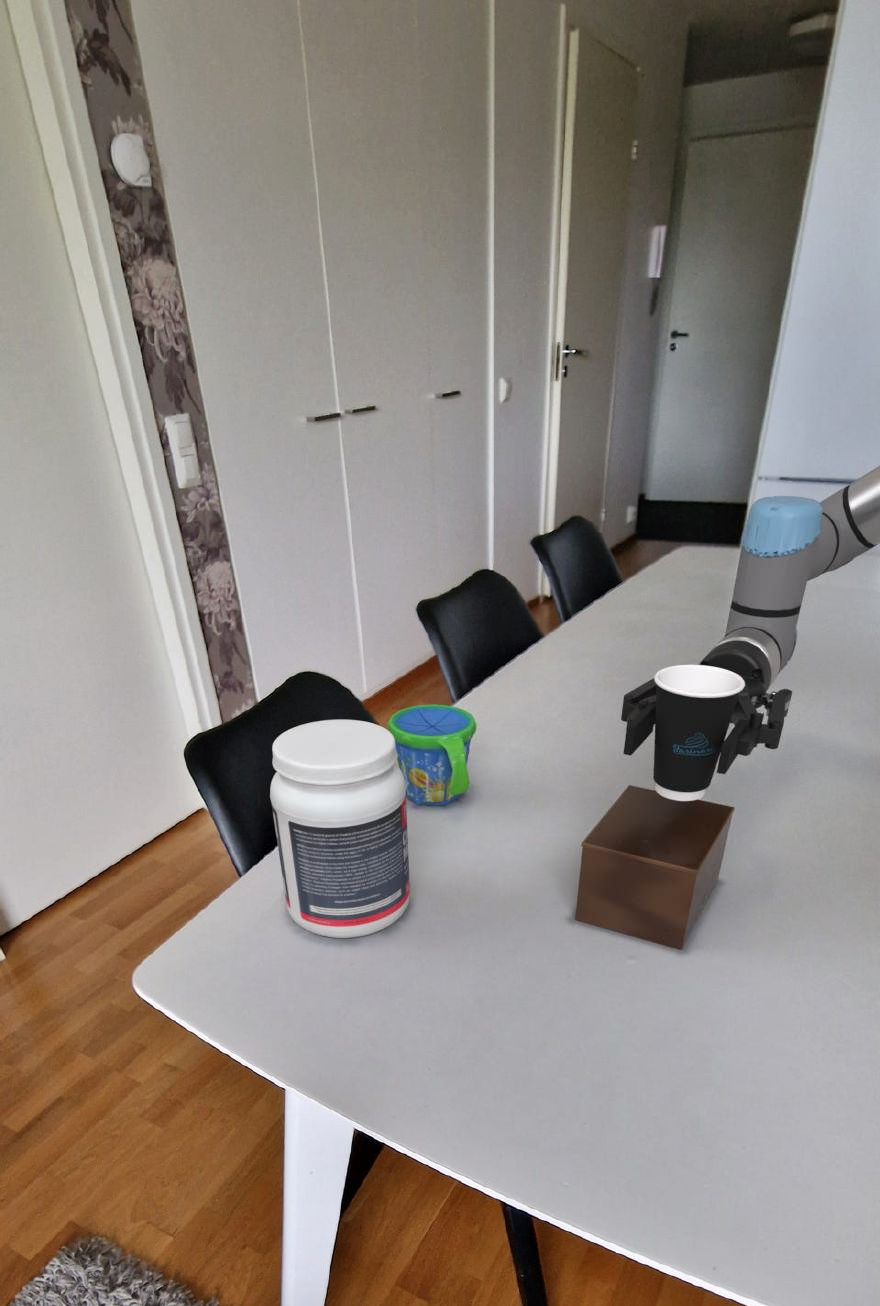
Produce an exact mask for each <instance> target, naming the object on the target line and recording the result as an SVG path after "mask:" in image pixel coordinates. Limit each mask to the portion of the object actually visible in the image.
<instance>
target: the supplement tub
mask: <svg viewBox="0 0 880 1306" xmlns="http://www.w3.org/2000/svg"><path fill="white" fill-rule="evenodd" d="M271 748H272V749H271V751H272V760H271V761H272V767H273V769H274V770H275V771H276V772H275V774H274V775H273V777H272V779H271V782H270V788H269V789H270V790H269V792H270V793H269V798H270V802H271V808H272V815H273V822H274V828H275V835H276V843H277V847H278V856H279V857H278V858H279V862H280V870H281V877H282V883H283V891H284V897H285V907H286V909H287V911H288V913H289V915H290V917H291V919H292V920H293V921H294V922H295V923H296V924H297V925H298V926H300V928H303V929H304V930H306V931H308V932H310V933H313V934H316V935H318V936H323V937H327V938H337V939H349V938H350V939H351V938H358V937H363V936H367V935H371V934H373V933H377V932H379V931H381V930H384V929H386V928H388V927H389V926H391V925H392V924H394V923H395V922H397V921H398V920H399V919H400V918H401V917H402V916H403V914H404V913H405V912H406V910H407V908H408V906H409V903H410V900H411V887H410V886H411V885H410V861H409V837H408V814H407V812H408V810H407V809H408V808H407V797H406V783H405V779H404V776H403V773H402V771H401V770H400V768H399V767H398V764H397V763H396V762H397V751H396V744H395V738H394V736H393V735H392V734H391V733H390V731H389V729H386V728H385V727H383V726H381V725H379V724H377V723H376V724H375V723H373V722H369V721H364V720H357V719H325V720H317V721H312V722H308V723H304V724H300V725H297V726H295V727H292V728H290V729H288V730H286V731H284V732H282V733H281V734H280V735H278V736H277V737H276V738H275V740H274V741H273V743H272V747H271Z"/></svg>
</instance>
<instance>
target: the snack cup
mask: <svg viewBox="0 0 880 1306" xmlns="http://www.w3.org/2000/svg"><path fill="white" fill-rule="evenodd" d="M387 728H388V729H387V730H388V731H389V732H390V733H391V734H392V735H393V736H394V738H395V744H396V751H397V760H396V762H397V766H398V767H399V768H400V770H401V771H402V773H403V776H404V779H405V783H406V799H408V800H410V801H413V802H414V803H415V804H416V805H417V806H421V805H425V806H431V807H434V806H447V805H448V804H449V803H452V802H454V801H456V800H457V799H458V798H460V796H461V795H462V794H463V793H465V792H466V791H467V790H468V789H469V787H470V777H469V772H468V761H469V755H470V746H471V741H472V739H473V736H474V735H475V733H476V732H477V723H476V719H475V717H474V716H473V715H472V714H471V713H470V712H469V711H467V710H465V709H462V708H459V707H456V706H452V705H445V704H420V705H414V706H409V707H406V708H402V709H400V710H398V711H396V712H395V713H394V714H392V716H391V717H390V718H389V720H388V722H387Z"/></svg>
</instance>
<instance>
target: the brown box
mask: <svg viewBox="0 0 880 1306" xmlns="http://www.w3.org/2000/svg"><path fill="white" fill-rule="evenodd" d="M735 809H736V806H730V805H727V804H721V803H716V802H713V801H707V800H702V799H697V800H693V801H677V800H672V799H668V798H666V797H663V796H661V795H660V794H658V793H657V791H656V790H655V789H650V788H647V787H641V786H637V785H631V784H629V785H628V786H627V787H626V788H625V790H624V791H623V792H622V793H621V794H620V796H619V797H618V798H617V799H616V801H615V802H613V804H612V805H611V807H610V808H609V809H608V810H607V811H606V813H605V814H604V815H603V816H602V817H601V818H600V820H599V821H598V822H597V823H596V825H595V826H594V827H593V828H592V829H591V830H590V832H589V833H588V834H587V836H586V837H585V838H584V839H583V840H582V842H581V843H580V846H581V858H580V860H581V861H580V868H579V878H578V888H577V897H576V907H575V915H574V920H575V921H578V922H582V923H584V924H588V925H592V926H595V927H598V928H602V929H604V930H609V931H613V932H617V933H620V934H623V935H628V936H631V937H634V938H638V939H641V940H644V941H648V942H652V943H655V944H658V945H662V946H666V947H670V948H672V949H676V950H680V951H682V950H683V949H684V947H685V944H686V943H687V941H688V940H689V937H690V936H691V934H692V931H693V930H694V927H695V925H696V924H697V922H698V920H699V918H700V916H701V915H702V913H703V911H704V909H705V907H706V905H707V903H708V901H709V899H710V897H711V895H712V894H713V891H714V889H715V887H716V886H717V884H718V882H719V878H720V872H721V867H722V864H723V859H724V854H725V850H726V845H727V842H728V836H729V832H730V828H731V827H730V826H731V822H732V818H733V814H734V812H735Z"/></svg>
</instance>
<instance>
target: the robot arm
mask: <svg viewBox="0 0 880 1306" xmlns="http://www.w3.org/2000/svg"><path fill="white" fill-rule="evenodd" d="M878 545H880V465H878V466H877V467H875V468H874V469H871V471H868V472H867V473H865V474H864V475H862V476H861V477H859V478H857V479H856V480H854V481H852V482H850V484H849V485H847V486H844V487H843V488H840V489H839V490H837V491H836V492H834V493H833V494H831V495H830V496H828V497H827V498H825V499H823V500H821V501H818V500H816V499H814V498H810V497H805V496H804V497H803V496H794V495H774V496H764V497H761V498H758V499H757V500H755V501H754V502H753V503H752V504H751V506H750V508H749V512H748V516H747V518H746V524H745V528H744V530H743V532H742V536H741V547H740V553H739V559H738V565H737V570H736V575H735V580H734V586H733V593H732V598H731V604H730V605H729V612H728V618H727V621H726V622H727V623H726V627H725V628H726V629H725V632H724V637H722V638H721V640H720V641H718V643H716V645H714V646H713V648H712V649H711V650H710V651H709V652H708V653H707V654H706V655H705V656H704V658H703V659H701V661H700V662H699V663H698V665H705V666H712V667H718V668H722V669H725V670H729V671H731V672H734V673H736V674H738V675H739V676H740V677H742V679H743V680H744V682H745V687H744V688H743V690H742V691H740V693H739V696H738V699H737V702H736V705H735V709H734V712H733V715H732V718H731V721H730V724H733V725H734V727H733V728H732V729H731V730H730V732H729V734H728V735H727V736H726V737H725V740H724V742H723V744H722V748H721V752H720V755H719V759H718V762H717V767H716V774H721V775H726V774H727V772H728V771H729V770H730V768H731V766H732V765H733V763H734V761H735V760H736V759H737V757H738V756H739V755H740V756H745V757H747V756H749V755H751V754H752V752H753V750H754V749H755V748H757V747H758V745H760V744H764V748H766V749H768V750H776V749H777V750H778V748H779V746H780V740H781V736H782V733H783V728H784V725H785V718H786V717H787V716H788V713H789V709H790V704H791V701H792V696H793V691H792V690H791V689H789V688H781V689H779V690H778V691H774V690H773V691H771V692H770V693H768V690H769V689H770V688H771V686H772V684H773V683H774V681H775V680H776V679H777V677H778V675H779V674H780V672H781V671H782V670H784V668H785V667H786V666H787V665H788V662H789V661H791V660H792V657H793V655H794V652H795V649H796V645H797V642H798V628H797V624H798V622H799V617H800V612H801V609H802V604H803V599H804V596H805V591H806V587H807V583H808V582H809V581H812V580H814V579H816V578H818V577H820V576H821V575H824V574H827V573H828V572H829V573H830V572H833V571H836V570H838V569H840V568H842V567H843V566H846V565H848V564H849V563H851V562H852V561H853V560H854V559H856V558H857V557H859V556H861V555H863V554H865V553H866V552H868V551H870V550H872V549H873V548H874V547H876V546H878ZM656 689H657V684H656V683H655V681H654V677H653V678H652V679H650V680H647V681H646V682H644V683H643V684H641V685H639V686H638V687H635V688H634V689H632V690H631V691H628V692H627V693H626V694H624V695H623V700H622V706H621V707H622V709H621V716H620V720H621V721H622V722H625V723H626V726H625V727H626V728H625V738H624V745H623V754H622V755H625V756H626V755H627V756H630V757H631V756H632V755H633V754H634V753H635V752H636V751H637V750H638V749H639V748H640V746H642V744H643V743H644V742H645V741H646V740H647V739H648V737H650V735H651V734H652V733H653V732H654V727H655V717H656ZM763 706H764V709H765V710H766V713H765V712H759V711H758V710H757V709H759V708H761V707H763ZM764 716H766V717H767V721H766V723H763V721H764Z"/></svg>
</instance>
